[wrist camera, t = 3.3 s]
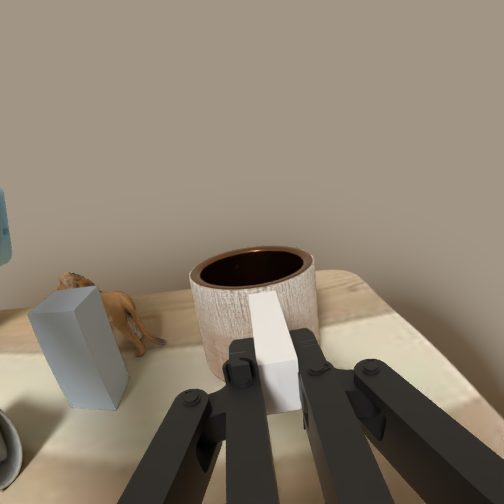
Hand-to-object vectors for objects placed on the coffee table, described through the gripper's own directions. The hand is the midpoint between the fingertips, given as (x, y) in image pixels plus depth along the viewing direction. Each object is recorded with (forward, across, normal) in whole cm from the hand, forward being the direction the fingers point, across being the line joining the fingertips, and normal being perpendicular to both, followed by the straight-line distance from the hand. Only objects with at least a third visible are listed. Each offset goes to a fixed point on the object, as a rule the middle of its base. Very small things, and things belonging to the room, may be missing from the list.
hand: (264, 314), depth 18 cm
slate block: (+6, -16, -10) cm, 20 cm away
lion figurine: (+16, -18, -10) cm, 26 cm away
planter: (+10, 0, -10) cm, 14 cm away
